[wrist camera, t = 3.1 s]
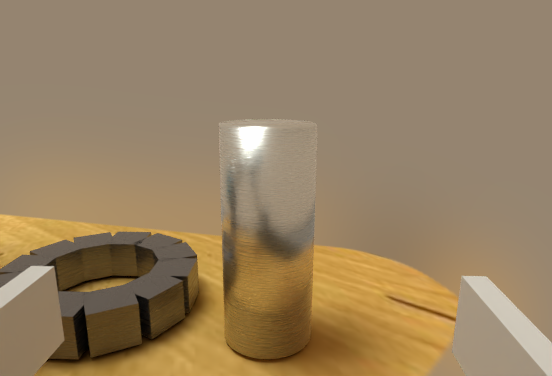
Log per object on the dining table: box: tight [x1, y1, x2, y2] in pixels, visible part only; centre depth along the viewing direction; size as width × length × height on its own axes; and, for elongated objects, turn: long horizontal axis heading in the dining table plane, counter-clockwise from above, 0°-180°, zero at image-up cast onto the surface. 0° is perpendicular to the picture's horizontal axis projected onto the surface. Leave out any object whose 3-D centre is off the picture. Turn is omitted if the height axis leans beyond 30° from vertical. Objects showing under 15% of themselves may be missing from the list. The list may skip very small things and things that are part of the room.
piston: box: [219, 119, 318, 359], centre depth 23 cm, size 5×5×12 cm
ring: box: [0, 232, 199, 359], centre depth 27 cm, size 12×12×2 cm
